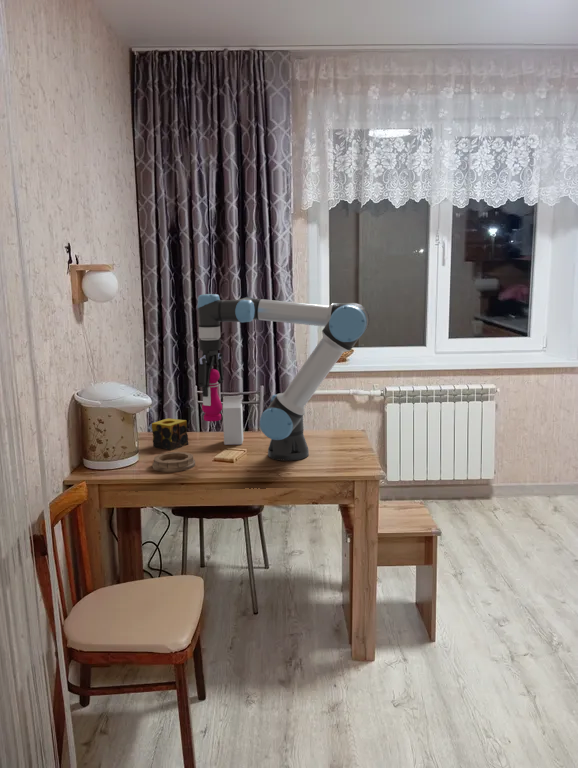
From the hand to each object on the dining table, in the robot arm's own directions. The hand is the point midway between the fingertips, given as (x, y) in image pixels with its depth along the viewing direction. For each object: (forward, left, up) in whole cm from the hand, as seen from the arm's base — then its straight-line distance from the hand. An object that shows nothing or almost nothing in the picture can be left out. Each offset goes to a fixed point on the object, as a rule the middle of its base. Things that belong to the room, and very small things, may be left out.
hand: (212, 403), depth 242 cm
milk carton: (+7, -28, -22) cm, 36 cm away
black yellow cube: (+29, -16, -23) cm, 40 cm away
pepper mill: (0, 0, -6) cm, 6 cm away
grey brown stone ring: (+13, +7, -22) cm, 27 cm away
